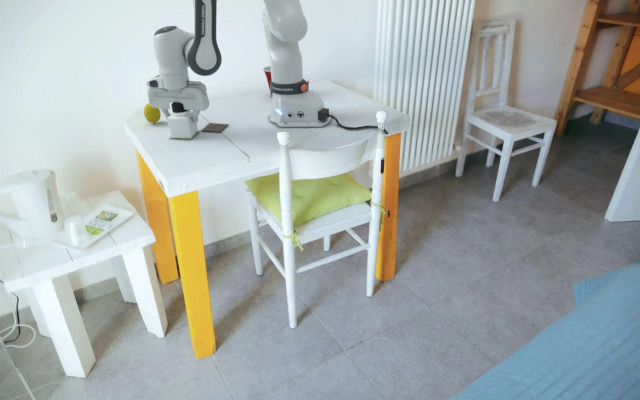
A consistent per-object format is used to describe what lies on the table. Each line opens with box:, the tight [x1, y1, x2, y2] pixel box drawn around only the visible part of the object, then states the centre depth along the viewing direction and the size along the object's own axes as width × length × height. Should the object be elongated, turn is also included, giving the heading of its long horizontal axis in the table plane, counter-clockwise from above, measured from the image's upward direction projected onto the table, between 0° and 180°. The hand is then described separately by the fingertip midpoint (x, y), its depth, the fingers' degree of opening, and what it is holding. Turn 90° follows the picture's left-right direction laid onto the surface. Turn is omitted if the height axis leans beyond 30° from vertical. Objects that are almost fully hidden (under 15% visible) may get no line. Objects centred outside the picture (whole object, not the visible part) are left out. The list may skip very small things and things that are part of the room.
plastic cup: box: [262, 65, 272, 93], centre depth 189 cm, size 11×11×12 cm
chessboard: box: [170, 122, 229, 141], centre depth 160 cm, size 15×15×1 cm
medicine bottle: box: [166, 102, 199, 139], centre depth 155 cm, size 7×7×12 cm
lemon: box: [143, 102, 162, 125], centre depth 166 cm, size 6×6×8 cm
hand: (182, 121), depth 156 cm, fingers open, 8 cm apart
